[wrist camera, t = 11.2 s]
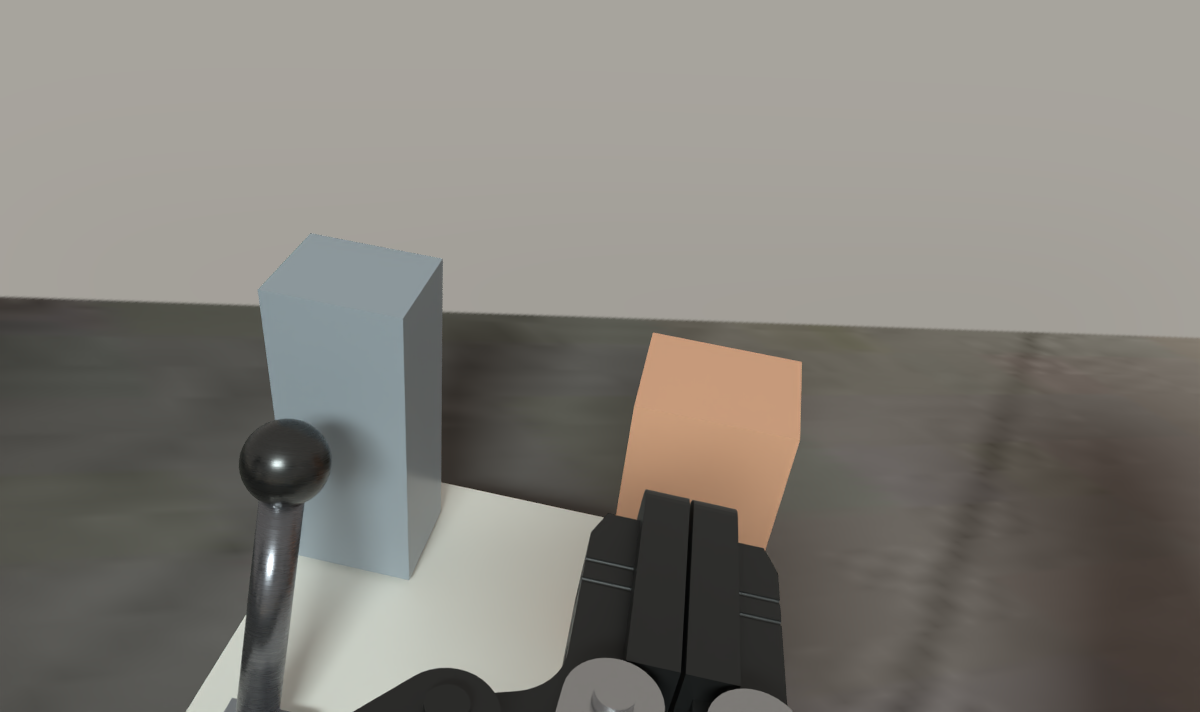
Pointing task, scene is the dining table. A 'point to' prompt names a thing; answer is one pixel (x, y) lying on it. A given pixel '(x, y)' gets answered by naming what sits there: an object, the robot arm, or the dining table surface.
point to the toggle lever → (276, 548)
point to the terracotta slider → (714, 431)
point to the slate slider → (362, 394)
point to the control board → (430, 610)
